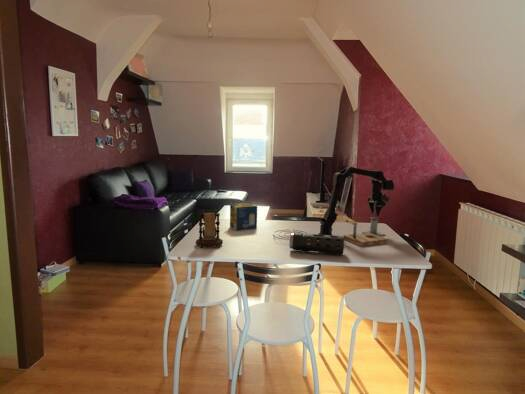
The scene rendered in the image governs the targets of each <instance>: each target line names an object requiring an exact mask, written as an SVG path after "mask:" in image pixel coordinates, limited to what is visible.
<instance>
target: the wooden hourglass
mask: <svg viewBox="0 0 525 394" xmlns="http://www.w3.org/2000/svg"><path fill="white" fill-rule="evenodd" d="M220 216H221V214H220V212H217V210H216V209H214V212H204V210H202V212H201V213H198V217H199V220H198V226H199V228H198V230H199V231H198V233H199V234H198V235H199V236H198V239H196V240H195V245H197V246H200V249H203V248H206V247H207V248H208V247H210V248H212V247H218V248H220V247H221V245H222V244H223V243H224V242H223V241H224V240H223V239H222V238H220V232H221V231H220V224H221V222H220Z"/></svg>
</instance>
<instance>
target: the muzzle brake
mask: <svg viewBox="0 0 525 394" xmlns="http://www.w3.org/2000/svg"><path fill="white" fill-rule="evenodd" d="M344 246H345V240H344V235H343V236H342V235H332V236H331V235H320V234H319V233H317V234H316V233H315V234H314V233H305V234H304V233H303V232H297V231H295V232H291V233H290V236H289V249H292V250H294V251H301V252H302V253H309V252H316V253H319V254H325V255H326V254H327V255H338V256H342V255H343V254H344V251H345V249H344V248H345V247H344Z"/></svg>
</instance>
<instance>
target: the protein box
mask: <svg viewBox="0 0 525 394" xmlns="http://www.w3.org/2000/svg"><path fill="white" fill-rule="evenodd" d="M229 205H230V206H229V207H230V208H229V228H231V229H232V230H234V231H244V230H245V231H246V230H256V229H258V227H257V226H258V205H256V204H253V203H251V202H248V203H237V204H235V203H234V204H229Z"/></svg>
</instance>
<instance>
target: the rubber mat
mask: <svg viewBox="0 0 525 394" xmlns="http://www.w3.org/2000/svg"><path fill="white" fill-rule="evenodd" d="M361 233H370V230H369V231H362V232H361ZM375 235H378V236H381V237H384V236H386V234H384V233H382V232H379V231H377V234H375Z"/></svg>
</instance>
